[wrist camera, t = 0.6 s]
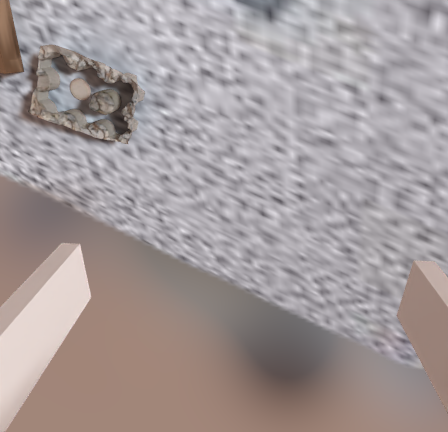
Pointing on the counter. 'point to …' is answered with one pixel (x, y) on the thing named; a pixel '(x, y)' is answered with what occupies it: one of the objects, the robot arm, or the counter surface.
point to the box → (8, 42)
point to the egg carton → (83, 95)
